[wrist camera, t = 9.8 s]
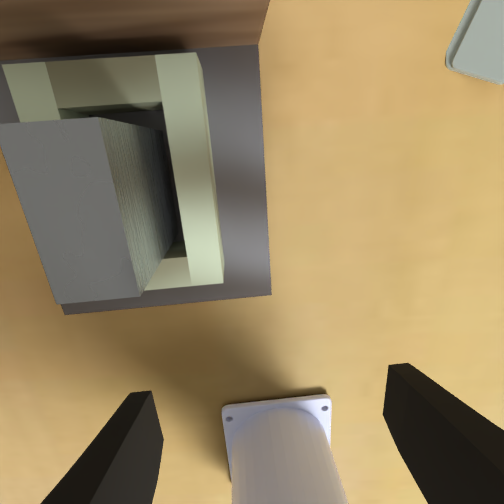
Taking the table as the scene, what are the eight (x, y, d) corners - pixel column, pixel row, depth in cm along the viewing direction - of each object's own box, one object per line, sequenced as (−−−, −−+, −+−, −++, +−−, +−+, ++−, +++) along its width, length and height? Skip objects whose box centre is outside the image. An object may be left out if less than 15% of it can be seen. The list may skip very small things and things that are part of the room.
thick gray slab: (179, 232, 15) (140, 296, 9) (131, 236, 15) (56, 304, 9) (162, 130, 14) (97, 116, 7) (108, 134, 14) (-7, 124, 7)
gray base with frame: (269, 287, 18) (286, 351, 12) (73, 305, 18) (-1, 381, 12) (254, 12, 13) (271, -88, 7) (-19, 28, 13) (-218, -66, 7)
